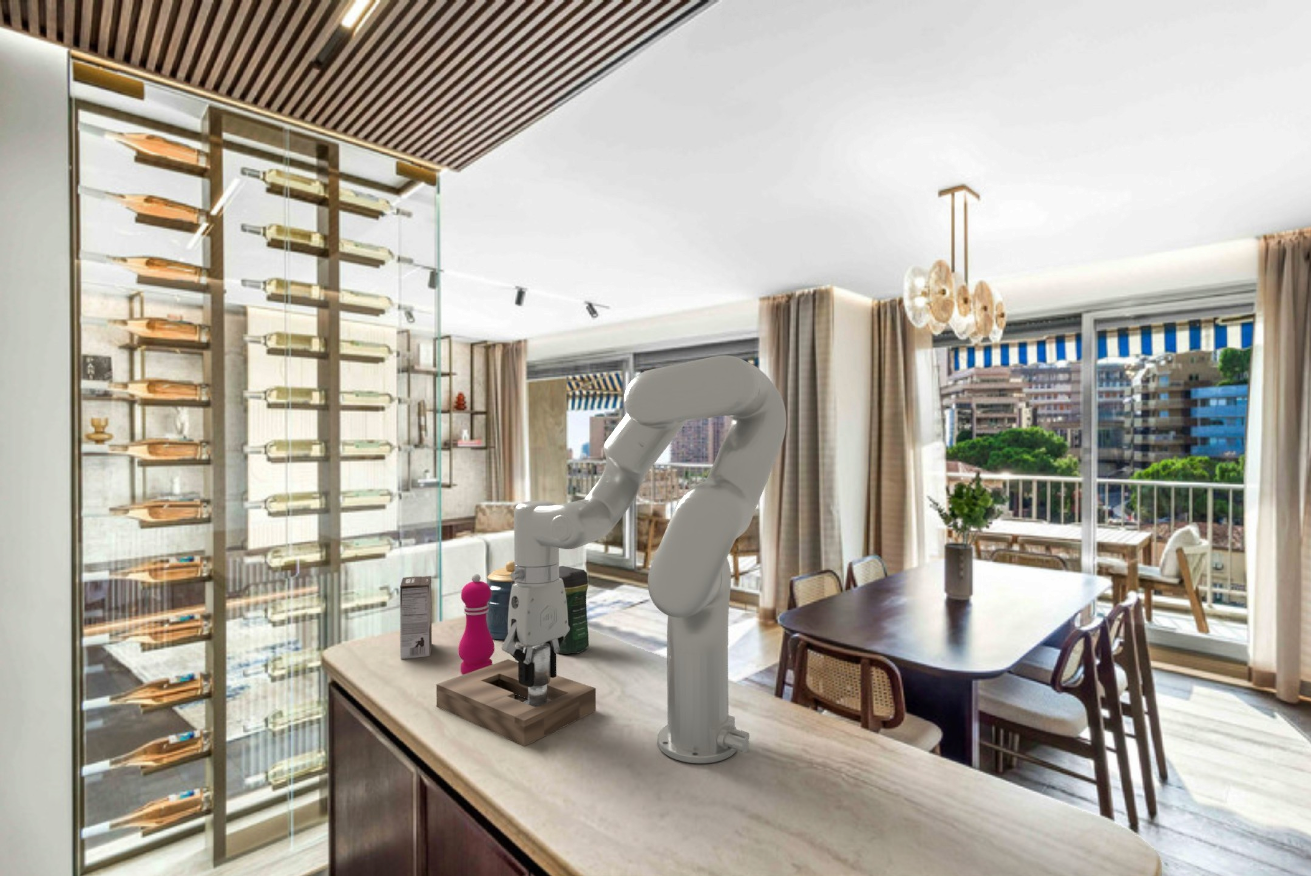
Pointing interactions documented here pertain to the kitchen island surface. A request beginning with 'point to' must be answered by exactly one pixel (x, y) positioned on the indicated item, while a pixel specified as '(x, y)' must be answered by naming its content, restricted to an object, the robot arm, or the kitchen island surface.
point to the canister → (499, 601)
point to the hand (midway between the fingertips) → (537, 679)
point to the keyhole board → (514, 702)
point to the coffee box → (415, 617)
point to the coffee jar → (575, 609)
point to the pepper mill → (476, 627)
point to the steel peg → (539, 675)
